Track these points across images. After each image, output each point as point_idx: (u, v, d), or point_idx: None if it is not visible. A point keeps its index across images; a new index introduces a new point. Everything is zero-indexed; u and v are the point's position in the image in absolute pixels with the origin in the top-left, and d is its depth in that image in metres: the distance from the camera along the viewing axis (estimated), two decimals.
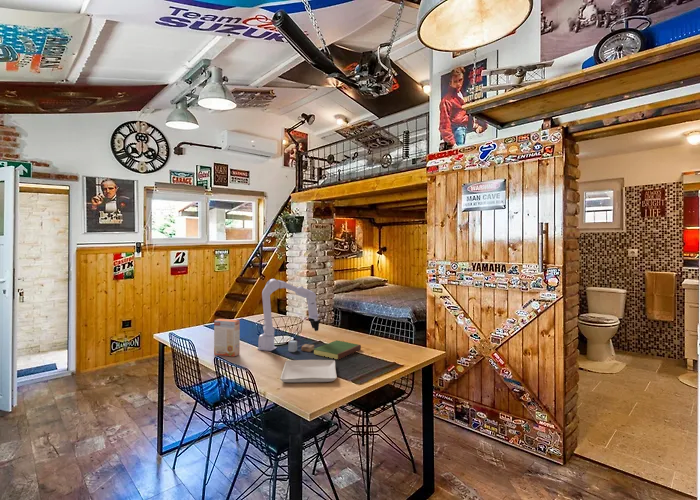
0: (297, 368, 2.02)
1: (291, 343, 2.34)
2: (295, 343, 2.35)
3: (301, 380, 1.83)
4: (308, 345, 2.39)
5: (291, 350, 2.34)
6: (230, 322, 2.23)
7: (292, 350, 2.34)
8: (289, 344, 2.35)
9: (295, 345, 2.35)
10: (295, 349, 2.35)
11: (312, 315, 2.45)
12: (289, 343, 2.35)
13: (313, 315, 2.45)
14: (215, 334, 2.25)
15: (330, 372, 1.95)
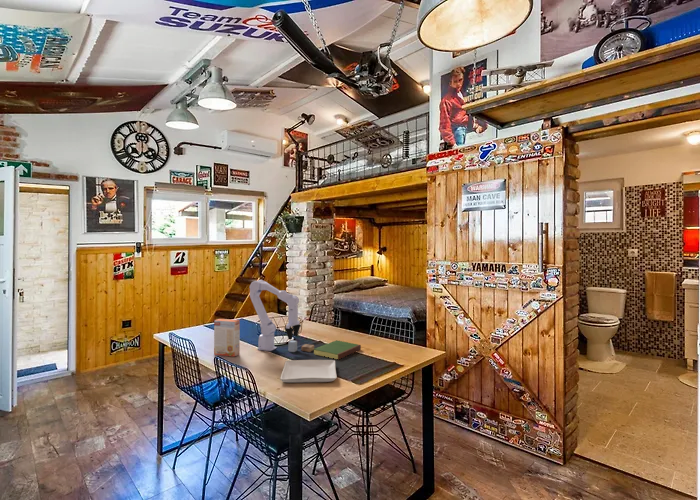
0: (297, 368, 2.02)
1: (291, 343, 2.34)
2: (295, 343, 2.35)
3: (301, 380, 1.83)
4: (308, 345, 2.39)
5: (291, 350, 2.34)
6: (230, 322, 2.23)
7: (292, 350, 2.34)
8: (289, 344, 2.35)
9: (295, 345, 2.35)
10: (295, 349, 2.35)
11: (289, 322, 2.34)
12: (289, 343, 2.35)
13: (290, 322, 2.33)
14: (215, 334, 2.25)
15: (330, 372, 1.95)
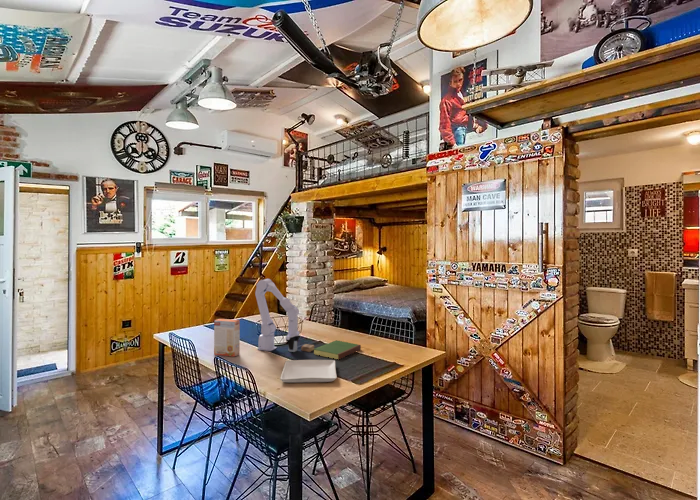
0: (297, 368, 2.02)
1: None
2: (295, 343, 2.35)
3: (301, 380, 1.83)
4: (308, 345, 2.39)
5: (291, 350, 2.34)
6: (230, 322, 2.23)
7: (292, 350, 2.34)
8: None
9: (295, 345, 2.35)
10: (295, 349, 2.35)
11: (289, 333, 2.34)
12: None
13: (290, 333, 2.34)
14: (215, 334, 2.25)
15: (330, 372, 1.95)
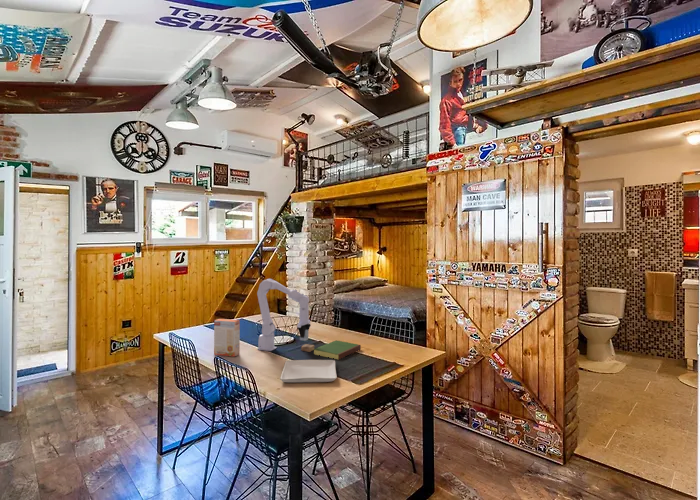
0: (297, 368, 2.02)
1: None
2: (306, 332, 2.37)
3: (301, 380, 1.83)
4: (308, 345, 2.39)
5: (302, 339, 2.36)
6: (230, 322, 2.23)
7: (303, 339, 2.35)
8: None
9: (306, 334, 2.37)
10: (306, 338, 2.36)
11: (300, 321, 2.35)
12: None
13: (301, 321, 2.35)
14: (215, 334, 2.25)
15: (330, 372, 1.95)
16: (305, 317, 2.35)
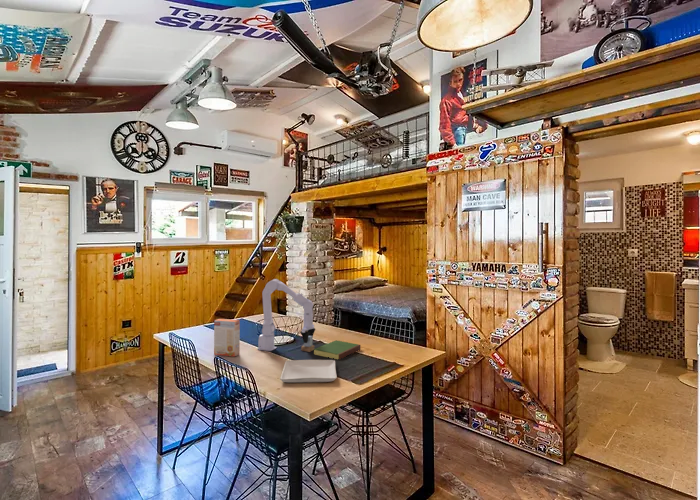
0: (297, 368, 2.02)
1: None
2: (311, 338, 2.37)
3: (301, 380, 1.83)
4: None
5: (307, 345, 2.36)
6: (230, 322, 2.23)
7: (308, 345, 2.36)
8: None
9: (311, 340, 2.37)
10: (310, 344, 2.37)
11: (304, 326, 2.36)
12: None
13: (305, 326, 2.36)
14: (215, 334, 2.25)
15: (330, 372, 1.95)
16: (309, 322, 2.35)
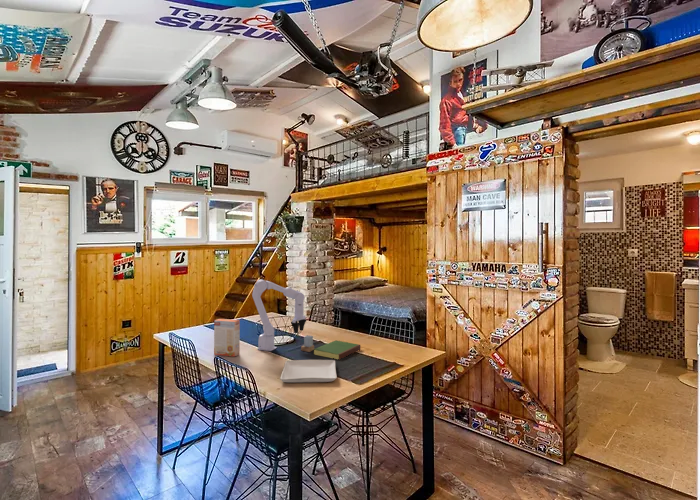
0: (297, 368, 2.02)
1: (307, 338, 2.36)
2: (311, 338, 2.37)
3: (301, 380, 1.83)
4: None
5: (307, 345, 2.37)
6: (230, 322, 2.23)
7: (308, 345, 2.36)
8: (305, 339, 2.37)
9: (311, 340, 2.37)
10: (310, 344, 2.37)
11: (295, 316, 2.43)
12: (305, 338, 2.37)
13: (296, 317, 2.42)
14: (215, 334, 2.25)
15: (330, 372, 1.95)
16: (300, 313, 2.42)
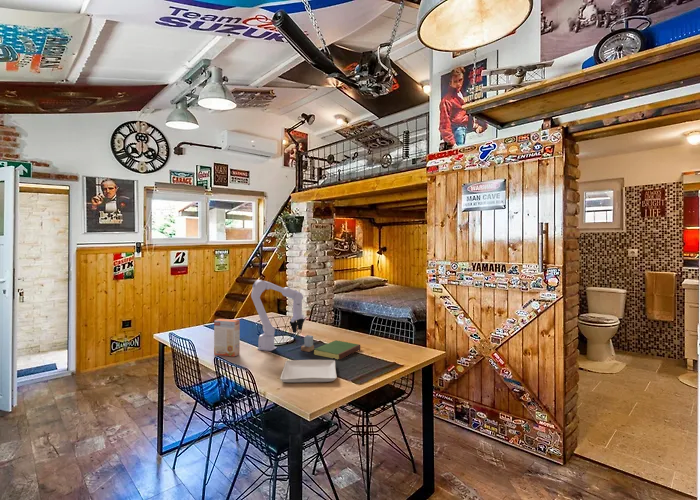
0: (297, 368, 2.02)
1: (307, 338, 2.36)
2: (311, 338, 2.37)
3: (301, 380, 1.83)
4: None
5: (307, 345, 2.36)
6: (230, 322, 2.23)
7: (308, 345, 2.36)
8: (305, 339, 2.37)
9: (311, 340, 2.37)
10: (310, 344, 2.37)
11: (294, 316, 2.44)
12: (305, 338, 2.37)
13: (294, 316, 2.43)
14: (215, 334, 2.25)
15: (330, 372, 1.95)
16: (298, 312, 2.43)
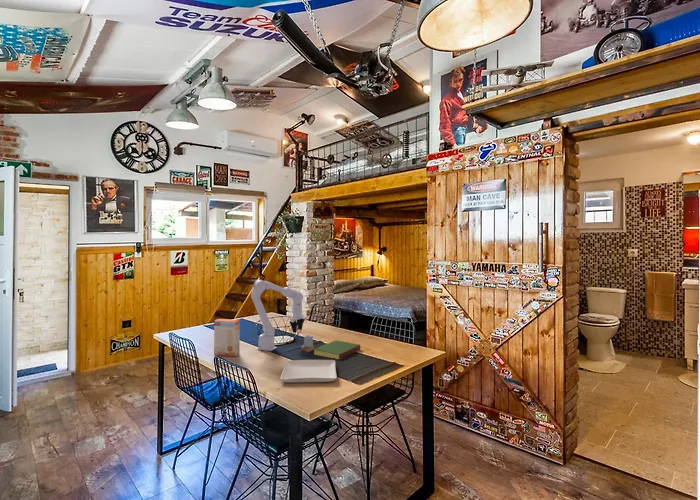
0: (297, 368, 2.02)
1: (307, 338, 2.36)
2: (311, 338, 2.37)
3: (301, 380, 1.83)
4: None
5: (307, 345, 2.36)
6: (230, 322, 2.23)
7: (308, 345, 2.36)
8: (305, 339, 2.37)
9: (311, 340, 2.37)
10: (310, 345, 2.37)
11: (294, 316, 2.44)
12: (305, 338, 2.37)
13: (294, 316, 2.43)
14: (215, 334, 2.25)
15: (330, 372, 1.95)
16: (298, 312, 2.43)
